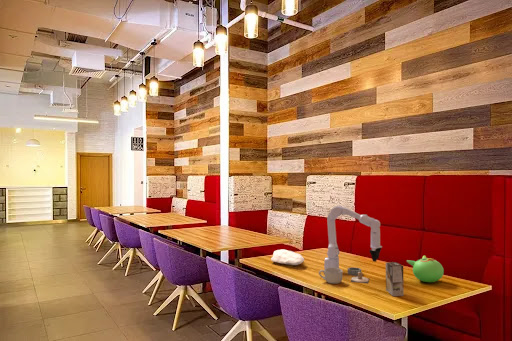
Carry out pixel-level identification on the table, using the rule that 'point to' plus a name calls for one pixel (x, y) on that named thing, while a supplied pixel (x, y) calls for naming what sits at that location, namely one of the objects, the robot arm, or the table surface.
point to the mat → (360, 282)
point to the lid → (360, 278)
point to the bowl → (353, 271)
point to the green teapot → (427, 269)
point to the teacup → (332, 275)
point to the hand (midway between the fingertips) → (375, 260)
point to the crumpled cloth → (287, 257)
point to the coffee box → (394, 279)
